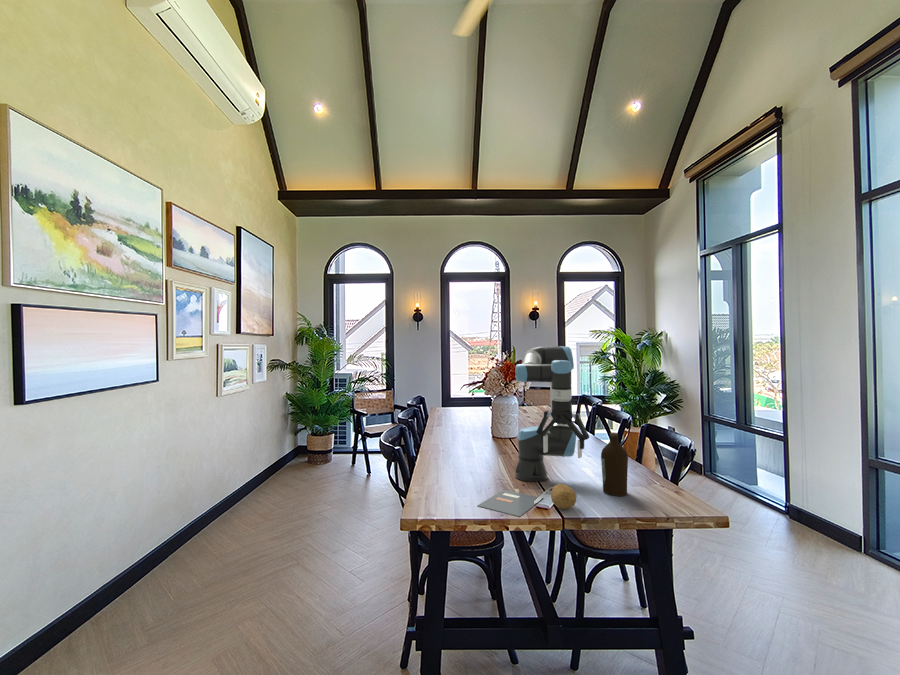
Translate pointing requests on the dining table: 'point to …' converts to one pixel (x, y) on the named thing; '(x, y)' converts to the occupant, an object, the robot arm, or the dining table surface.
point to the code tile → (509, 503)
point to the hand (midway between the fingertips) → (562, 454)
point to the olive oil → (614, 467)
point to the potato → (563, 496)
